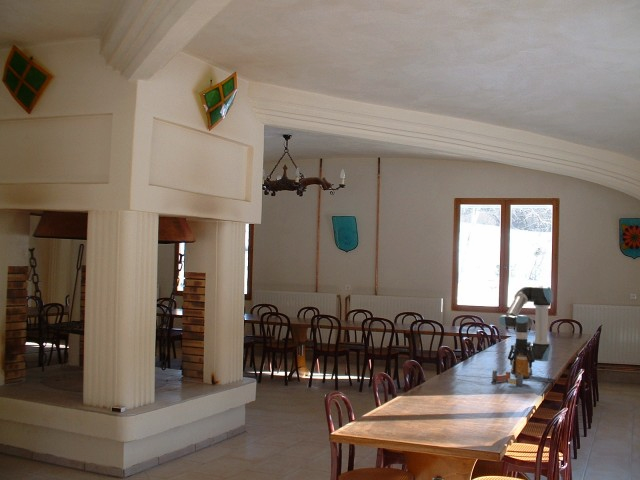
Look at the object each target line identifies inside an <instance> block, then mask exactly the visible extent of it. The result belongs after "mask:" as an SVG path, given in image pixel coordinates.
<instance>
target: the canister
mask: <svg viewBox="0 0 640 480" xmlns="http://www.w3.org/2000/svg"><path fill="white" fill-rule="evenodd" d="M516 352H518V353H517V354H515V353H516ZM525 352H529V351H528V350H526V351H525ZM513 355H514V358H513V360H514V364H513V372H514V373H515V374H514V375H515V378H514V379H517V374H523V381H525V380H529V379H530V375H529V373H528V363H529V361H528V359H527V356H525V354H524V352H523V353H522V352H521V350H520V349H519V350H515V351H514V350H513V353H512V356H513ZM516 355H517V359H516ZM515 363H516V369H515Z"/></svg>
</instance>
